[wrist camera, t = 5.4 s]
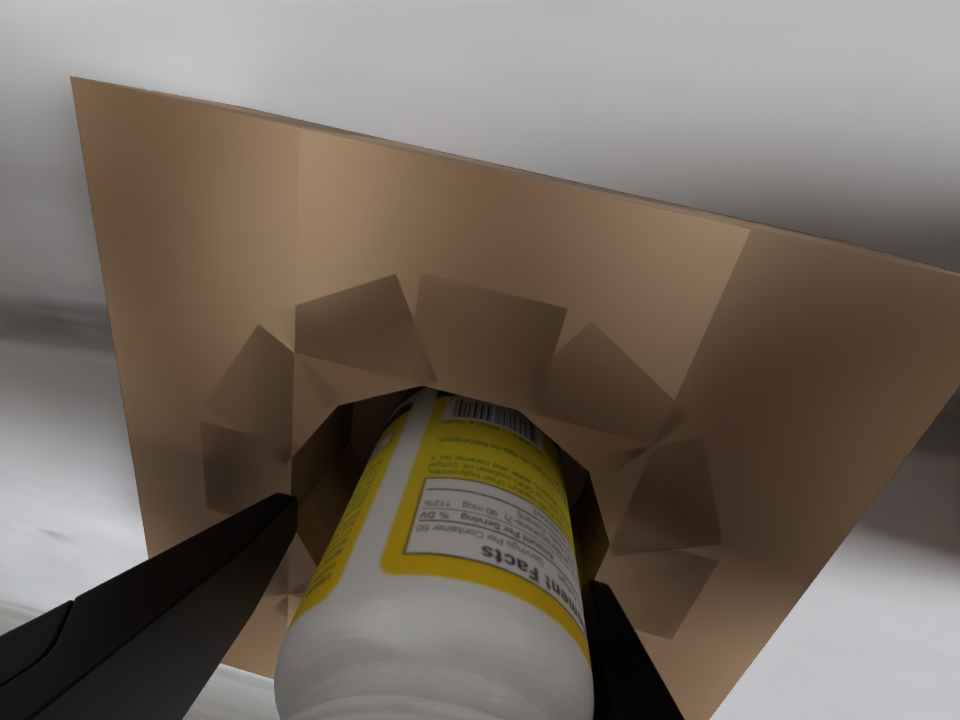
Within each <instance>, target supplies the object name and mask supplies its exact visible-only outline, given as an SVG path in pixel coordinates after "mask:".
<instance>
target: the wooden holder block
mask: <svg viewBox="0 0 960 720" xmlns="http://www.w3.org/2000/svg"><path fill="white" fill-rule="evenodd" d="M70 78H71V84H72V90H73V97H74V103H75V109H76V115H77V121H78V127H79V133H80V140H81V146H82V152H83V158H84V164H85V170H86V176H87V183H88V189H89V195H90V201H91V207H92V213H93V219H94V226H95V232H96V238H97V244H98V250H99V256H100V262H101V269H102V275H103V281H104V287H105V293H106V299H107V306H108V312H109V318H110V324H111V330H112V336H113V342H114V349H115V355H116V361H117V367H118V373H119V379H120V385H121V392H122V398H123V404H124V410H125V416H126V422H127V428H128V435H129V441H130V447H131V453H132V459H133V465H134V471H135V478H136V484H137V490H138V496H139V502H140V508H141V514H142V521H143V527H144V533H145V539H146V545H147V551H148V558H149V559H150V558H152V557H154V556H156V555H158V554H160V553H161V552H163V551H165V550H167V549H169V548H171V547H173V546H175V545H177V544H179V543H181V542H183V541H184V540H186V539H188V538H190V537H192V536H194V535H196V534H198V533H200V532H202V531H204V530H205V529H207V528H209V527H211V526H213V525H215V524H217V523H219V522H221V521H223V520H225V519H226V518H228V517H230V516H232V515H234V514H236V513H238V512H240V511H242V510H244V509H246V508H248V507H249V506H251V505H253V504H255V503H257V502H259V501H261V500H263V499H265V498H267V497H269V496H270V495H272V494H274V493H278V492H281V493H285V494H289V495H292V496H295V497H297V499H298V525H297V531H296V534H295V536H294V539H293V540H292V542H291V544H290V546H289V548H288V550H287V552H286V554H285V555H284V557H283V559H282V561H281V563H280V565H279V567H278V568H277V570H276V572H275V574H274V576H273V578H272V580H271V582H270V583H269V585H268V587H267V589H266V591H265V593H264V595H263V597H262V598H261V600H260V602H259V604H258V606H257V607H256V609H255V611H254V612H253V614H252V616H251V617H250V619H249V620H248V622H247V623H246V625H245V626H244V628H243V629H242V631H241V632H240V634H239V635H238V637H237V638H236V640H235V641H234V643H233V644H232V646H231V647H230V649H229V650H228V652H227V653H226V655H225V656H224V658H223V659H222V661H221V662H220V663H222V664H225V665H229V666H232V667H235V668H238V669H242V670H245V671H248V672H252V673H255V674H258V675H261V676H265V677H268V678H271V679H274V678H275V670H276V664H277V659H278V656H279V652H280V649H281V645H282V642H283V639H284V636H285V634H286V632H287V630H288V628H289V625H290V623H291V621H292V619H293V617H294V615H295V613H296V611H297V609H298V607H299V605H300V603H301V601H302V599H303V597H304V595H305V593H306V591H307V589H308V587H309V585H310V583H311V581H312V578H313V576H314V574H315V572H316V570H317V568H318V566H319V564H320V562H321V560H322V558H323V556H324V554H325V552H326V550H327V548H328V545H329V543H330V541H331V539H332V537H333V535H334V533H335V531H336V529H337V527H338V525H339V522H340V520H341V518H342V516H343V514H344V512H345V510H346V508H347V505H348V503H349V501H350V499H351V497H352V495H353V493H354V490H355V488H356V486H357V484H358V482H359V480H360V478H361V476H362V474H363V471H364V469H365V467H366V465H367V463H368V461H369V459H370V457H371V454H372V452H373V450H374V448H375V446H376V444H377V442H378V440H379V437H380V435H381V433H382V431H383V429H384V427H385V426H386V424H387V422H388V420H389V418H390V416H391V415H392V414H393V412H394V411H395V410H396V409H397V408H398V407H399V406H400V405H401V404H402V403H403V402H404V401H405V400H407V399H408V398H409V397H410V396H412V395H413V394H415V393H417V392H419V391H420V390H422V389H424V388H426V387H430V388H434V389H438V390H442V391H446V392H450V393H453V394H457V395H461V396H465V397H469V398H473V399H477V400H481V401H485V402H488V403H492V404H496V405H500V406H504V407H508V408H512V409H516V410H519V411H520V412H521V413H522V414H523V415H525V416H526V417H527V418H528V419H529V420H530V421H531V422H533V423H534V424H535V425H536V426H537V427H538V428H539V429H541V430H542V431H543V432H544V433H545V434H546V435H547V436H549V437H550V438H551V439H552V440H553V441H554V442H555V443H557V444H558V445H559V448H560V453H561V459H562V465H563V473H564V480H565V487H566V493H567V501H568V508H569V515H570V521H571V528H572V535H573V542H574V549H575V557H576V563H577V569H578V578H579V585H580V592H581V590H582V588H583V586H584V584H585V582H586V581H587V580H588V579H592V580H596V581H599V582H603V583H606V584H608V585H609V586H610V588H611V589H612V591H613V593H614V594H615V596H616V598H617V600H618V602H619V603H620V605H621V607H622V609H623V610H624V612H625V614H626V616H627V617H628V619H629V621H630V623H631V625H632V626H633V628H634V630H635V632H636V633H637V635H638V637H639V639H640V640H641V642H642V644H643V646H644V648H645V649H646V651H647V653H648V655H649V656H650V658H651V660H652V662H653V664H654V665H655V667H656V669H657V671H658V672H659V674H660V676H661V678H662V679H663V681H664V683H665V685H666V687H667V688H668V690H669V692H670V694H671V695H672V697H673V699H674V701H675V703H676V704H677V706H678V708H679V710H680V711H681V713H682V715H683V717H684V718H685V720H709V719H710V718H711V716H712V715H713V714H714V712H715V711H716V710H717V708H718V707H719V706H720V704H721V703H722V702H723V700H724V699H725V698H726V696H727V695H728V694H729V692H730V691H731V690H732V688H733V687H734V686H735V684H736V683H737V682H738V680H739V679H740V678H741V676H742V675H743V674H744V672H745V671H746V670H747V668H748V667H749V666H750V664H751V663H752V662H753V660H754V659H755V658H756V656H757V655H758V654H759V652H760V651H761V650H762V648H763V647H764V646H765V644H766V643H767V642H768V640H769V639H770V638H771V637H772V635H773V634H774V633H775V631H776V630H777V629H778V627H779V626H780V625H781V623H782V622H783V621H784V619H785V618H786V617H787V615H788V614H789V613H790V611H791V610H792V609H793V607H794V606H795V605H796V603H797V602H798V601H799V599H800V598H801V597H802V595H803V594H804V593H805V591H806V590H807V589H808V587H809V586H810V585H811V583H812V582H813V581H814V579H815V578H816V577H817V575H818V574H819V573H820V571H821V570H822V569H823V567H824V566H825V565H826V563H827V562H828V561H829V559H830V558H831V557H832V555H833V554H834V553H835V551H836V550H837V549H838V547H839V546H840V545H841V543H842V542H843V541H844V539H845V538H846V537H847V535H848V534H849V533H850V531H851V530H852V529H853V527H854V526H855V525H856V523H857V522H858V521H859V519H860V518H861V517H862V515H863V514H864V513H865V511H866V510H867V509H868V507H869V506H870V505H871V503H872V502H873V501H874V499H875V498H876V497H877V495H878V494H879V493H880V491H881V490H882V489H883V487H884V486H885V485H886V483H887V482H888V481H889V479H890V478H891V477H892V475H893V474H894V473H895V471H896V470H897V469H898V467H899V466H900V465H901V463H902V462H903V461H904V459H905V458H906V457H907V455H908V454H909V453H910V451H911V450H912V449H913V447H914V446H915V445H916V443H917V442H918V441H919V439H920V438H921V437H922V435H923V434H924V433H925V431H926V430H927V429H928V427H929V426H930V425H931V423H932V422H933V421H934V419H935V418H936V417H937V415H938V414H939V413H940V411H941V410H942V409H943V407H944V406H945V405H946V403H947V402H948V401H949V399H950V398H951V397H952V395H953V394H954V393H955V391H956V390H957V389H958V387H959V386H960V273H957V272H953V271H950V270H946V269H942V268H939V267H935V266H931V265H928V264H924V263H920V262H917V261H913V260H909V259H906V258H902V257H898V256H895V255H891V254H887V253H884V252H880V251H876V250H873V249H869V248H865V247H862V246H858V245H854V244H851V243H846V242H842V241H837V240H833V239H828V238H824V237H819V236H815V235H810V234H806V233H802V232H797V231H793V230H788V229H784V228H779V227H775V226H770V225H766V224H761V223H757V222H753V221H748V220H744V219H739V218H735V217H730V216H726V215H721V214H717V213H712V212H708V211H703V210H699V209H695V208H690V207H686V206H681V205H677V204H672V203H668V202H663V201H659V200H654V199H650V198H645V197H641V196H637V195H632V194H628V193H623V192H619V191H614V190H610V189H605V188H601V187H596V186H592V185H588V184H583V183H579V182H574V181H570V180H565V179H561V178H556V177H552V176H547V175H543V174H538V173H534V172H530V171H525V170H521V169H516V168H512V167H507V166H503V165H498V164H494V163H489V162H485V161H480V160H476V159H472V158H467V157H463V156H458V155H454V154H449V153H445V152H440V151H436V150H431V149H427V148H423V147H418V146H414V145H409V144H405V143H400V142H396V141H391V140H387V139H382V138H378V137H373V136H369V135H365V134H360V133H356V132H351V131H347V130H342V129H338V128H333V127H329V126H324V125H320V124H316V123H311V122H307V121H302V120H298V119H293V118H289V117H284V116H280V115H275V114H271V113H266V112H262V111H258V110H253V109H249V108H244V107H240V106H234V105H229V104H223V103H218V102H212V101H206V100H201V99H195V98H190V97H184V96H178V95H173V94H167V93H162V92H156V91H150V90H145V89H139V88H134V87H128V86H122V85H117V84H111V83H106V82H100V81H95V80H89V79H83V78H78V77H72V76H70Z"/></svg>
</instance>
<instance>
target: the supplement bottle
mask: <svg viewBox="0 0 960 720" xmlns="http://www.w3.org/2000/svg"><path fill="white" fill-rule="evenodd" d="M274 690H275V701H276V707H277V710H278V713H279V716H280V719H281V720H593V713H594V689H593V676H592V669H591V661H590V654H589V646H588V640H587V634H586V627H585V620H584V613H583V606H582V599H581V592H580V585H579V578H578V569H577V563H576V557H575V549H574V542H573V535H572V528H571V521H570V515H569V508H568V501H567V493H566V487H565V480H564V473H563V465H562V459H561V453H560V448H559V445H558V444H557V443H555V442H554V441H553V440H552V439H551V438H550V437H549V436H547V435H546V434H545V433H544V432H543V431H542V430H541V429H539V428H538V427H537V426H536V425H535V424H534V423H533V422H531V421H530V420H529V419H528V418H527V417H526V416H525V415H523V414H522V413H521V412H520V411H519V410H516V409H512V408H508V407H504V406H500V405H496V404H492V403H488V402H485V401H481V400H477V399H473V398H469V397H465V396H461V395H457V394H453V393H450V392H446V391H442V390H438V389H434V388H430V387H426V388H424V389H422V390H420V391H419V392H417V393H415V394H413V395H412V396H410V397H409V398H408V399H407V400H405V401H404V402H403V403H402V404H401V405H400V406H399V407H398V408H397V409H396V410H395V411H394V412H393V414H392V415H391V416H390V418H389V420H388V422H387V424H386V426H385V427H384V429H383V431H382V433H381V435H380V437H379V440H378V442H377V444H376V446H375V448H374V450H373V452H372V454H371V457H370V459H369V461H368V463H367V465H366V467H365V469H364V471H363V474H362V476H361V478H360V480H359V482H358V484H357V486H356V488H355V490H354V493H353V495H352V497H351V499H350V501H349V503H348V505H347V508H346V510H345V512H344V514H343V516H342V518H341V520H340V522H339V525H338V527H337V529H336V531H335V533H334V535H333V537H332V539H331V541H330V543H329V545H328V548H327V550H326V552H325V554H324V556H323V558H322V560H321V562H320V564H319V566H318V568H317V570H316V572H315V574H314V576H313V578H312V581H311V583H310V585H309V587H308V589H307V591H306V593H305V595H304V597H303V599H302V601H301V603H300V605H299V607H298V609H297V611H296V613H295V615H294V617H293V619H292V621H291V623H290V625H289V628H288V630H287V632H286V634H285V636H284V639H283V642H282V645H281V649H280V652H279V656H278V659H277V664H276V670H275V678H274Z"/></svg>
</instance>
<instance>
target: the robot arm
mask: <svg viewBox="0 0 960 720" xmlns="http://www.w3.org/2000/svg"><path fill="white" fill-rule="evenodd" d="M297 525H298V499H297V497H295V496H292V495H289V494H285V493H281V492H278V493H274V494H272V495H270V496H269V497H267V498H265V499H263V500H261V501H259V502H257V503H255V504H253V505H251V506H249V507H248V508H246V509H244V510H242V511H240V512H238V513H236V514H234V515H232V516H230V517H228V518H226V519H225V520H223V521H221V522H219V523H217V524H215V525H213V526H211V527H209V528H207V529H205V530H204V531H202V532H200V533H198V534H196V535H194V536H192V537H190V538H188V539H186V540H184V541H183V542H181V543H179V544H177V545H175V546H173V547H171V548H169V549H167V550H165V551H163V552H161V553H160V554H158V555H156V556H154V557H152V558H150V559H148V560H146V561H144V562H142V563H140V564H139V565H137V566H135V567H133V568H131V569H129V570H127V571H125V572H123V573H121V574H119V575H118V576H116V577H114V578H112V579H110V580H108V581H106V582H104V583H102V584H100V585H98V586H96V587H95V588H93V589H91V590H89V591H87V592H85V593H83V594H81V595H79V596H77V597H76V598H75V600H74V601H72V600H70V601H67V602H66V603H64V604H62V605H60V606H58V607H56V608H54V609H52V610H50V611H48V612H46V613H44V614H43V615H41V616H39V617H37V618H35V619H33V620H31V621H29V622H27V623H25V624H23V625H21V626H19V627H17V628H15V629H13V630H11V631H9V632H7V633H5V634H3V635H1V636H0V720H182V719H183V717H184V716H185V714H186V713H187V712H188V710H189V709H190V707H191V706H192V704H193V703H194V701H195V700H196V698H197V697H198V695H199V694H200V692H201V691H202V689H203V688H204V686H205V685H206V683H207V682H208V680H209V679H210V677H211V676H212V674H213V673H214V671H215V670H216V668H217V667H218V665H219V664H220V662H221V661H222V659H223V658H224V656H225V655H226V653H227V652H228V650H229V649H230V647H231V646H232V644H233V643H234V641H235V640H236V638H237V637H238V635H239V634H240V632H241V631H242V629H243V628H244V626H245V625H246V623H247V622H248V620H249V619H250V617H251V616H252V614H253V612H254V611H255V609H256V607H257V606H258V604H259V602H260V600H261V598H262V597H263V595H264V593H265V591H266V589H267V587H268V585H269V583H270V582H271V580H272V578H273V576H274V574H275V572H276V570H277V568H278V567H279V565H280V563H281V561H282V559H283V557H284V555H285V554H286V552H287V550H288V548H289V546H290V544H291V542H292V540H293V539H294V536H295V534H296V531H297ZM581 599H582V606H583V613H584V620H585V627H586V634H587V640H588V646H589V654H590V661H591V669H592V676H593V689H594V713H593V720H685V718H684V717H683V715H682V713H681V711H680V710H679V708H678V706H677V704H676V703H675V701H674V699H673V697H672V695H671V694H670V692H669V690H668V688H667V687H666V685H665V683H664V681H663V679H662V678H661V676H660V674H659V672H658V671H657V669H656V667H655V665H654V664H653V662H652V660H651V658H650V656H649V655H648V653H647V651H646V649H645V648H644V646H643V644H642V642H641V640H640V639H639V637H638V635H637V633H636V632H635V630H634V628H633V626H632V625H631V623H630V621H629V619H628V617H627V616H626V614H625V612H624V610H623V609H622V607H621V605H620V603H619V602H618V600H617V598H616V596H615V594H614V593H613V591H612V589H611V588H610V586H609V585H608V584H606V583H603V582H599V581H596V580H592V579H588V580H587V581H586V582H585V584H584V586H583V588H582V590H581Z"/></svg>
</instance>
